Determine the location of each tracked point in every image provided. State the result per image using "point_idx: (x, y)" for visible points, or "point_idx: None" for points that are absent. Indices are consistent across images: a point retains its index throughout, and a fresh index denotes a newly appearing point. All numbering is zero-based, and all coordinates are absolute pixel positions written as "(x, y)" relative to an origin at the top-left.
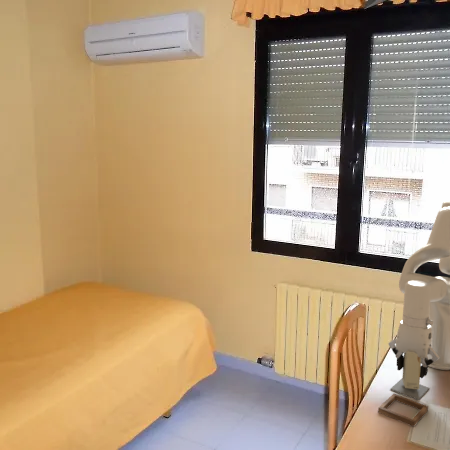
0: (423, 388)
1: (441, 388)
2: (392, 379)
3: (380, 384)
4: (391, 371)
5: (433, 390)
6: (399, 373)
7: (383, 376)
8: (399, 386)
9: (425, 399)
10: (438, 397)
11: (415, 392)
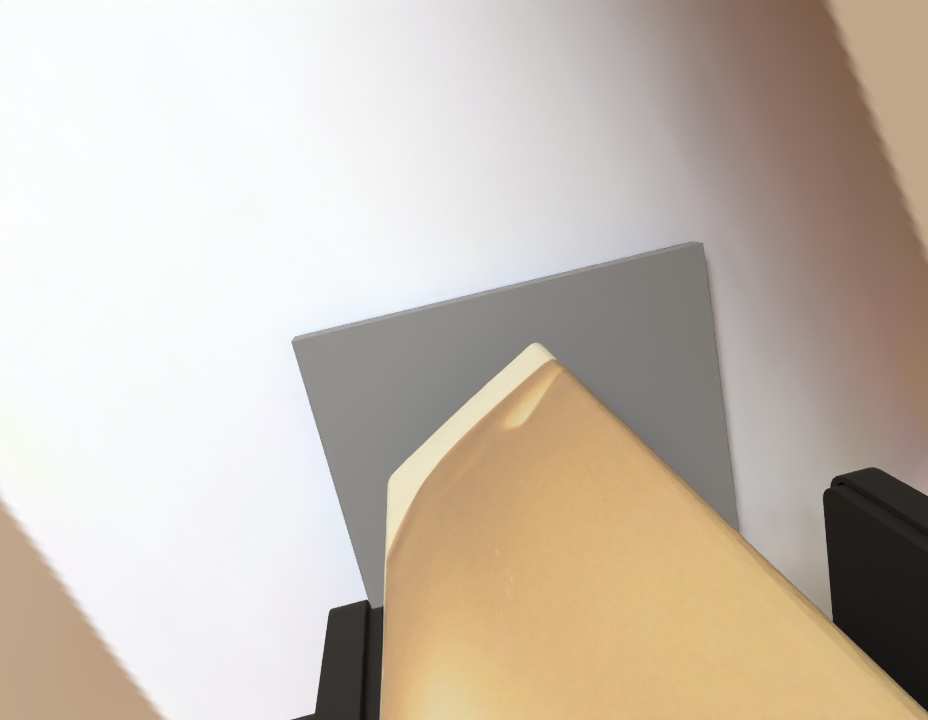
0: (659, 332)
1: (793, 64)
2: (215, 450)
3: (228, 681)
4: (9, 256)
5: (744, 219)
6: (130, 200)
7: (78, 491)
8: None
9: (778, 497)
10: (864, 325)
11: None
